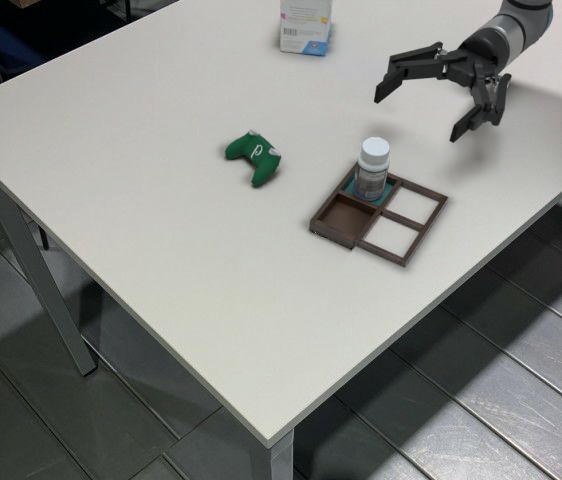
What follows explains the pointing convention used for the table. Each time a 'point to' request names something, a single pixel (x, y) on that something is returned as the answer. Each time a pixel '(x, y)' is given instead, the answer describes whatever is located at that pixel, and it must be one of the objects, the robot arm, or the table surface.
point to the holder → (369, 215)
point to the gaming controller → (256, 154)
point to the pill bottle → (372, 169)
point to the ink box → (305, 26)
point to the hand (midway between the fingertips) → (414, 114)
